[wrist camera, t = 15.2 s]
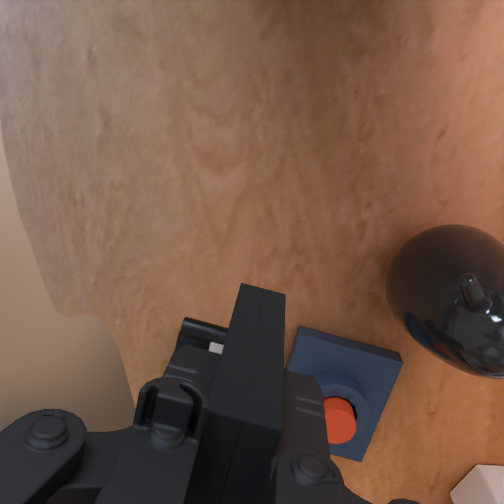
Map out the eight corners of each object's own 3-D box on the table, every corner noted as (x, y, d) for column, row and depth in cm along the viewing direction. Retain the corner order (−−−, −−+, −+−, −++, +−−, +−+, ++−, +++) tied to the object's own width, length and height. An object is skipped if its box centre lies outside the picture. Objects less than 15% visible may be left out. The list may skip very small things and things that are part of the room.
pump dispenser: (460, 189, 39) (562, 237, 24) (512, 286, 41) (635, 382, 26) (355, 250, 41) (391, 326, 27) (410, 338, 43) (471, 453, 29)
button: (320, 392, 42) (322, 405, 40) (358, 402, 42) (361, 416, 40) (309, 423, 43) (310, 438, 41) (346, 433, 43) (348, 448, 41)
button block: (299, 325, 44) (300, 346, 40) (399, 352, 44) (409, 375, 40) (266, 424, 47) (264, 452, 44) (358, 449, 47) (364, 479, 44)
